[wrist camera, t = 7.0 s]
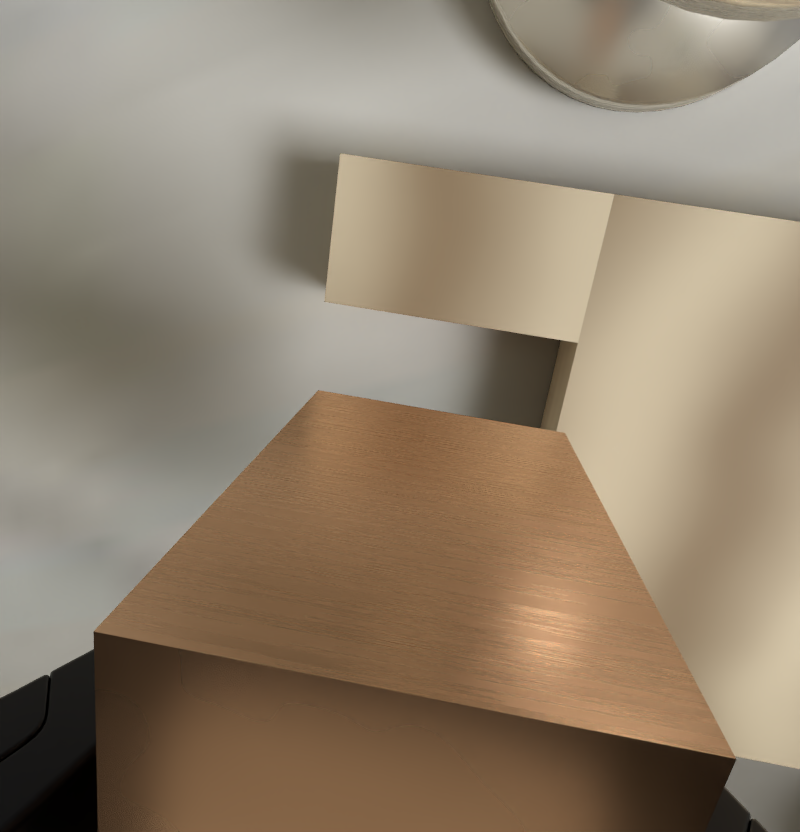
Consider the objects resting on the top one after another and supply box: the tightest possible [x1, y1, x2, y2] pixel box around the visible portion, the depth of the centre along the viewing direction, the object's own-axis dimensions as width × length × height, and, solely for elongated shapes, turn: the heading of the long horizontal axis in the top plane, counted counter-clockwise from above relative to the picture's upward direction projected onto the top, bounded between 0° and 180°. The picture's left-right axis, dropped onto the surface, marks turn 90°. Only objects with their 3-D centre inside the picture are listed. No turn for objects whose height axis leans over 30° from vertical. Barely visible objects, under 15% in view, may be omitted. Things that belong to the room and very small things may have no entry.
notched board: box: [325, 153, 800, 769], centre depth 15 cm, size 16×14×2 cm
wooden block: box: [94, 390, 736, 832], centre depth 7 cm, size 4×6×6 cm, turn 172°
